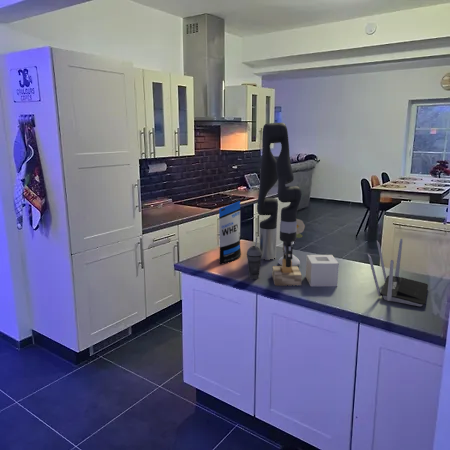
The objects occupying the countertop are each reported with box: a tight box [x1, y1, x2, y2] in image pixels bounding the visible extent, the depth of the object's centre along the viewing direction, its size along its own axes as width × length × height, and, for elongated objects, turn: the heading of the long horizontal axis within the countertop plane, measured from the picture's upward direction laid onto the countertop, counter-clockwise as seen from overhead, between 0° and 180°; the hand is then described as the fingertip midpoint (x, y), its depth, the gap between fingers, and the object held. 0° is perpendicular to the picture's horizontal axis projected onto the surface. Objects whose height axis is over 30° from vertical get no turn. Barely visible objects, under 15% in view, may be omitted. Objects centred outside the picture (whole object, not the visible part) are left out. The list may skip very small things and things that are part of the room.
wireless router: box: [367, 238, 429, 307], centre depth 168 cm, size 34×23×20 cm
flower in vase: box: [277, 218, 306, 267], centre depth 202 cm, size 13×11×25 cm
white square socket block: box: [305, 254, 340, 287], centre depth 182 cm, size 12×12×11 cm
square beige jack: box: [271, 265, 303, 287], centre depth 184 cm, size 12×12×5 cm
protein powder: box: [218, 200, 242, 265], centre depth 214 cm, size 10×24×30 cm, turn 152°
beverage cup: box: [246, 237, 262, 280], centre depth 187 cm, size 7×7×20 cm
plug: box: [281, 256, 292, 273], centre depth 183 cm, size 4×4×10 cm
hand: (287, 263), depth 183 cm, fingers open, 8 cm apart
